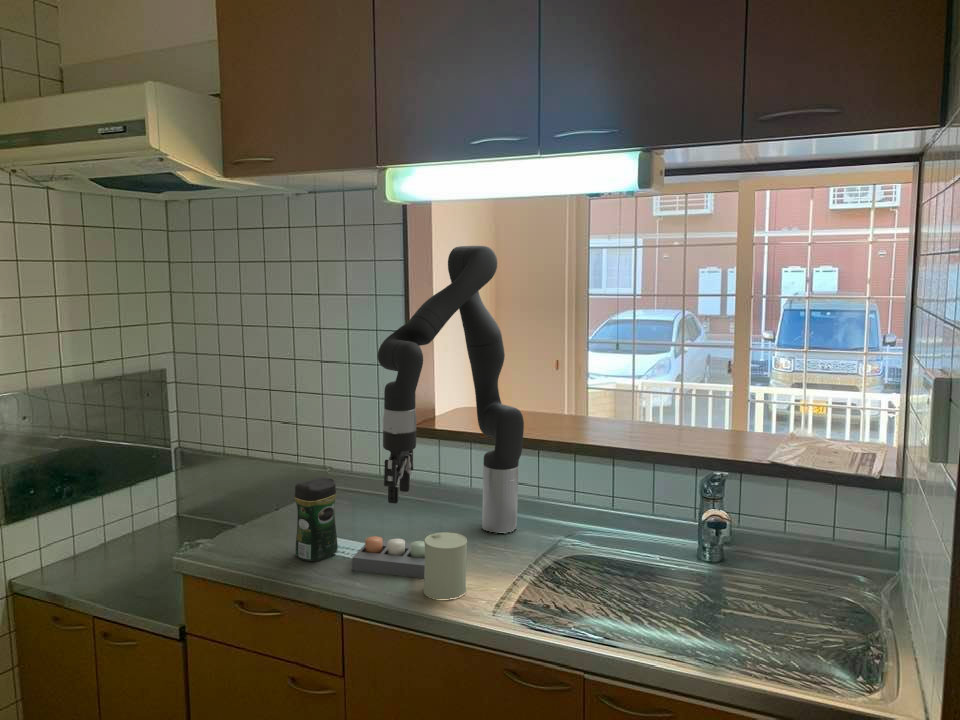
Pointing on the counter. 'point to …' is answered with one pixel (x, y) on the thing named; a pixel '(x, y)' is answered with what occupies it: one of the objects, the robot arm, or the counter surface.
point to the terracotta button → (374, 544)
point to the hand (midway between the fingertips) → (399, 496)
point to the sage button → (417, 549)
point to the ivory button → (396, 547)
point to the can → (445, 565)
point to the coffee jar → (316, 519)
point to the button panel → (389, 562)
